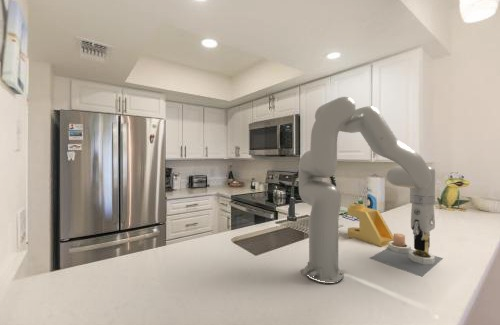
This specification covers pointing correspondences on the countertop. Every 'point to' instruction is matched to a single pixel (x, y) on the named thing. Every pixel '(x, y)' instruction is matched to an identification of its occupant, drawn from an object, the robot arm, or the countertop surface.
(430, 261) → the white octagonal ring
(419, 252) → the gold rounded cylinder
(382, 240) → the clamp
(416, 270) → the mat
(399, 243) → the joined fitting
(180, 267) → the countertop surface
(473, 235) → the countertop surface
